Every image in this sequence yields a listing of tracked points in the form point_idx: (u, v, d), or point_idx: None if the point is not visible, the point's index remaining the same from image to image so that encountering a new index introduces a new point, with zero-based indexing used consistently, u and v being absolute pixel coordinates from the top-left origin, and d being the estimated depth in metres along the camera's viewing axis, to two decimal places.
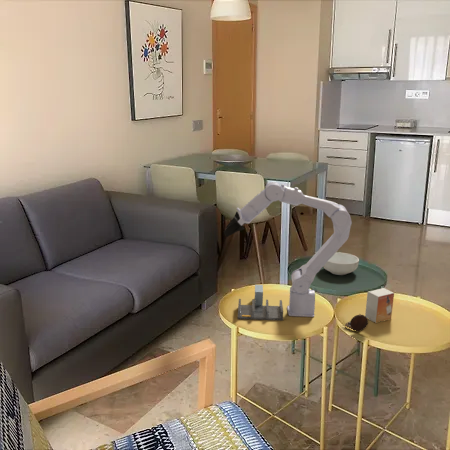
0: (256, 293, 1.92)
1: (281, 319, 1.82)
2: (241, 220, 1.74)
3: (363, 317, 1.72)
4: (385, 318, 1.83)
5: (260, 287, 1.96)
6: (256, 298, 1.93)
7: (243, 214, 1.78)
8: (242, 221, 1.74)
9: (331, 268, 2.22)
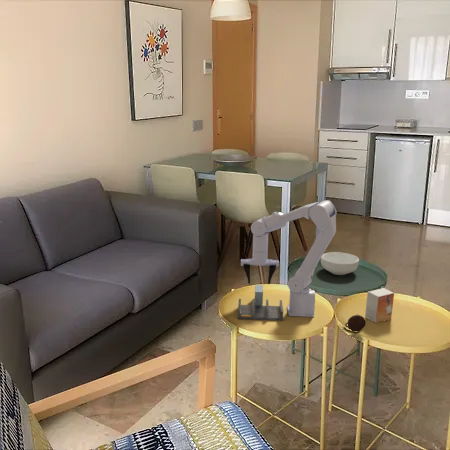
0: (256, 293, 1.92)
1: (281, 319, 1.82)
2: None
3: (360, 318, 1.71)
4: (385, 318, 1.83)
5: (260, 287, 1.96)
6: (256, 298, 1.93)
7: None
8: None
9: (331, 268, 2.22)
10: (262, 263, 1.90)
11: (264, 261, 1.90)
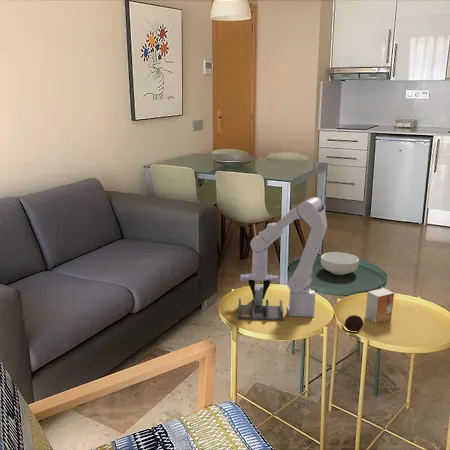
0: (256, 293, 1.92)
1: (281, 319, 1.82)
2: None
3: (358, 318, 1.71)
4: (385, 318, 1.83)
5: (260, 287, 1.96)
6: (256, 298, 1.93)
7: None
8: None
9: (331, 268, 2.22)
10: (262, 278, 1.91)
11: (264, 276, 1.92)
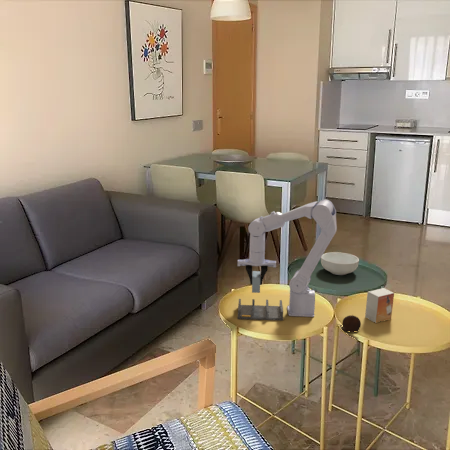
0: (253, 279, 1.89)
1: (281, 319, 1.82)
2: None
3: (355, 318, 1.71)
4: (385, 318, 1.83)
5: (257, 273, 1.92)
6: (253, 284, 1.89)
7: None
8: None
9: (331, 268, 2.22)
10: (259, 263, 1.87)
11: (261, 261, 1.87)
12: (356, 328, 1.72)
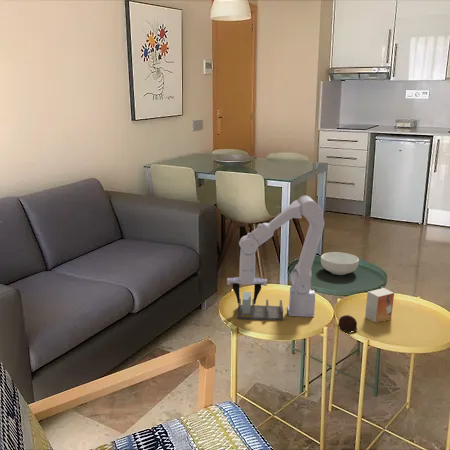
0: (243, 301, 1.83)
1: (281, 319, 1.82)
2: (227, 279, 1.85)
3: (351, 318, 1.70)
4: (385, 318, 1.83)
5: (248, 295, 1.87)
6: (243, 306, 1.84)
7: None
8: (227, 280, 1.84)
9: (331, 268, 2.22)
10: (249, 282, 1.81)
11: (251, 280, 1.82)
12: (352, 328, 1.72)
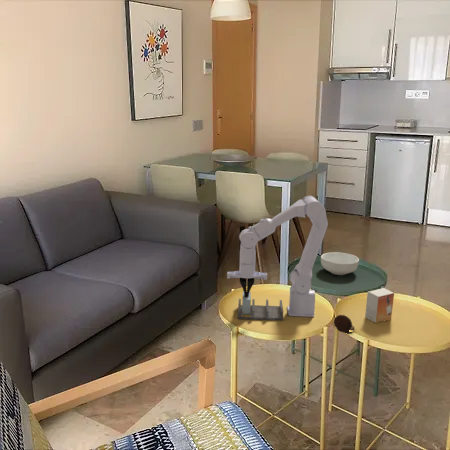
0: (243, 301, 1.83)
1: (281, 319, 1.82)
2: (227, 273, 1.84)
3: (345, 318, 1.71)
4: (385, 318, 1.83)
5: None
6: (243, 306, 1.84)
7: None
8: (227, 274, 1.84)
9: (331, 268, 2.22)
10: (249, 276, 1.81)
11: (251, 274, 1.81)
12: (347, 328, 1.72)
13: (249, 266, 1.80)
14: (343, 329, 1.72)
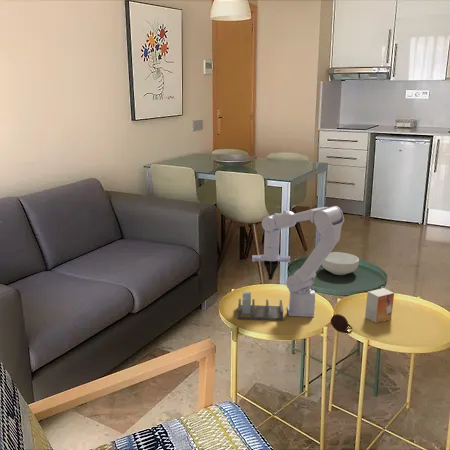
0: (243, 301, 1.83)
1: (281, 319, 1.82)
2: (252, 257, 1.94)
3: (341, 318, 1.71)
4: (385, 318, 1.83)
5: (248, 295, 1.87)
6: (243, 306, 1.84)
7: None
8: (252, 257, 1.94)
9: (331, 268, 2.22)
10: (274, 259, 1.91)
11: (276, 257, 1.91)
12: (343, 328, 1.72)
13: (273, 249, 1.90)
14: (339, 329, 1.73)
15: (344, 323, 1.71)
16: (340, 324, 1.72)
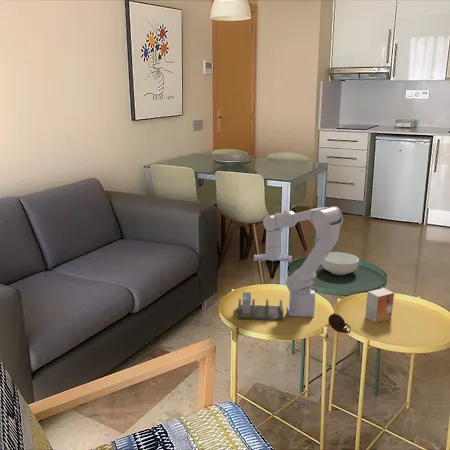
0: (243, 301, 1.83)
1: (281, 319, 1.82)
2: (254, 256, 1.95)
3: (338, 317, 1.71)
4: (385, 318, 1.83)
5: (248, 295, 1.87)
6: (243, 306, 1.84)
7: None
8: (254, 256, 1.95)
9: (331, 268, 2.22)
10: (275, 258, 1.91)
11: (277, 256, 1.92)
12: (340, 328, 1.72)
13: (275, 249, 1.90)
14: (336, 328, 1.73)
15: (341, 323, 1.71)
16: (337, 323, 1.72)
